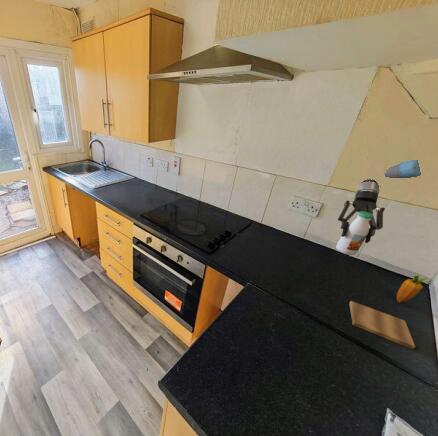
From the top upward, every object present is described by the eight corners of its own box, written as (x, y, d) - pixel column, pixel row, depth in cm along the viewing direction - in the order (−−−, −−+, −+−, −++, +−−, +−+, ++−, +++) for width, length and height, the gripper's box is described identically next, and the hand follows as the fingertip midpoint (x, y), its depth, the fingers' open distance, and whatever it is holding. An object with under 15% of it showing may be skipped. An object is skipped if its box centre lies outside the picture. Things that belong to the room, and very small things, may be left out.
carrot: (406, 302, 93) (429, 275, 86) (407, 309, 90) (431, 282, 83) (390, 295, 96) (411, 268, 89) (390, 302, 93) (412, 275, 85)
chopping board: (402, 323, 84) (404, 320, 84) (412, 349, 75) (415, 346, 75) (349, 303, 92) (350, 300, 91) (352, 325, 83) (354, 322, 82)
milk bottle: (335, 251, 106) (356, 213, 96) (335, 244, 111) (354, 207, 102) (356, 257, 102) (380, 219, 92) (355, 249, 108) (376, 212, 98)
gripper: (392, 202, 103) (381, 248, 98) (336, 192, 112) (324, 233, 108) (402, 195, 96) (390, 244, 92) (342, 185, 106) (329, 229, 102)
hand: (355, 238), depth 100 cm, fingers closed on milk bottle, 8 cm apart
